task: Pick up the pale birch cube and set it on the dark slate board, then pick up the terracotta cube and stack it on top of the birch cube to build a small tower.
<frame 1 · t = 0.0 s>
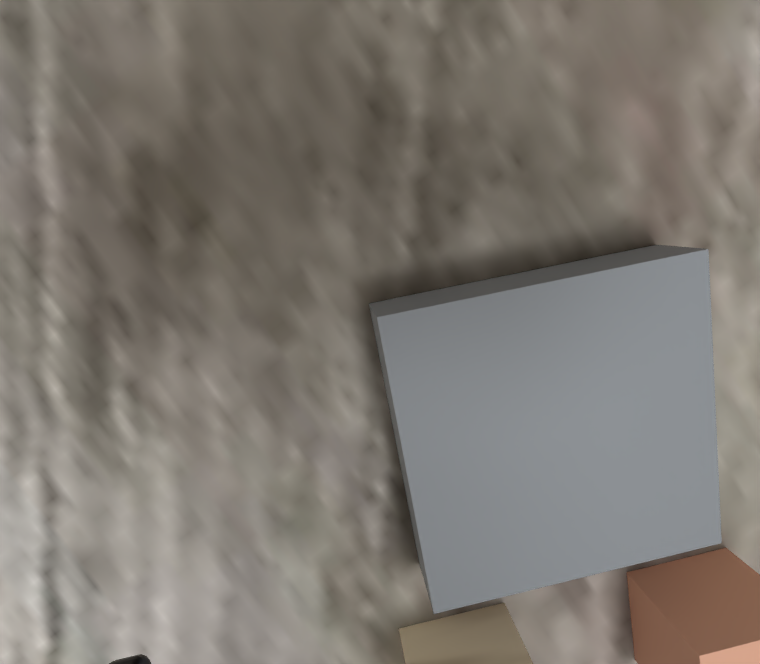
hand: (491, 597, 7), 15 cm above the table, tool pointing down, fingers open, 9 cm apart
birch cube: (459, 658, 25), on the table
slate board: (533, 411, 23), on the table
terracotta cube: (678, 603, 26), on the table
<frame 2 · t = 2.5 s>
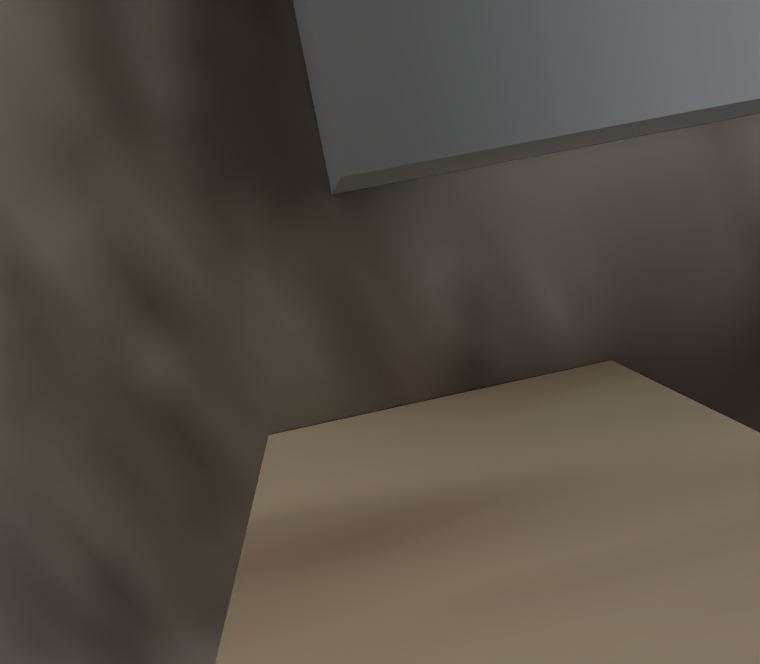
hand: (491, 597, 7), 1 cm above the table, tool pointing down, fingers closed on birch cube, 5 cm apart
birch cube: (469, 549, 8), on the table, touching gripper
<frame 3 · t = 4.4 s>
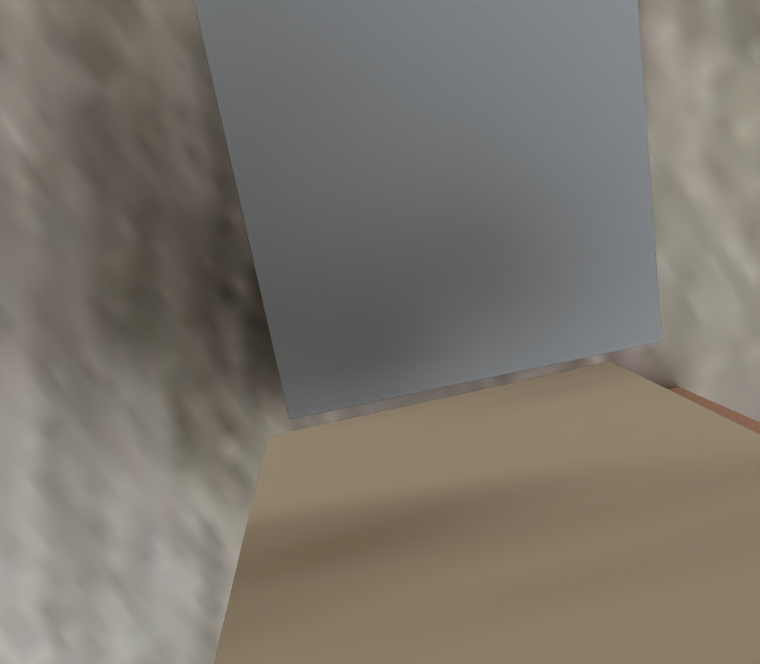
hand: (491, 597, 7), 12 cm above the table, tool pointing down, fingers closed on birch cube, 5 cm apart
birch cube: (469, 551, 8), point 11 cm above the table, touching gripper
slate board: (430, 190, 18), on the table
terracotta cube: (622, 458, 21), on the table
when the fingers open (5 cm above the table, at t = 6.5 s): birch cube stays where it is, resting on slate board.
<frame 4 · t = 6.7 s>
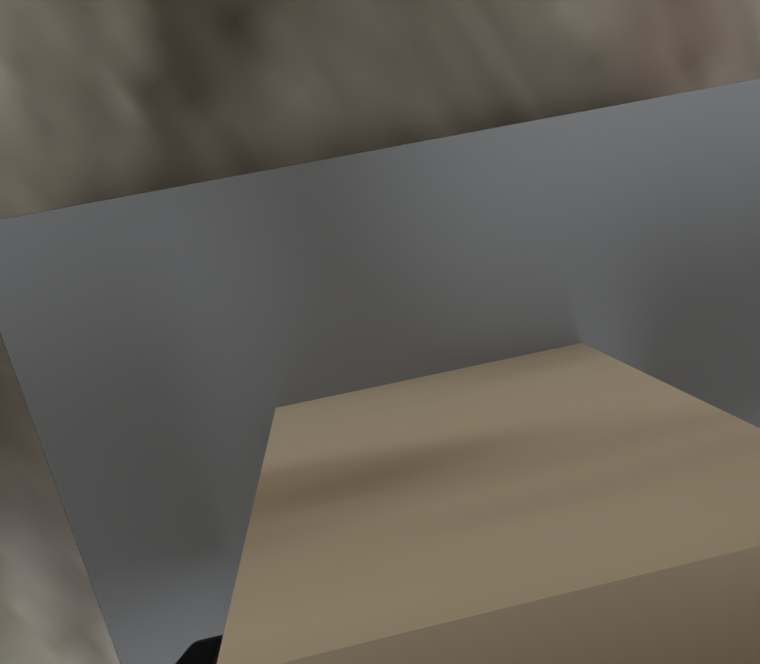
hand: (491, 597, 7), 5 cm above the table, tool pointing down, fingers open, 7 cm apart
birch cube: (455, 513, 9), point 3 cm above the table, touching slate board
slate board: (422, 441, 12), on the table
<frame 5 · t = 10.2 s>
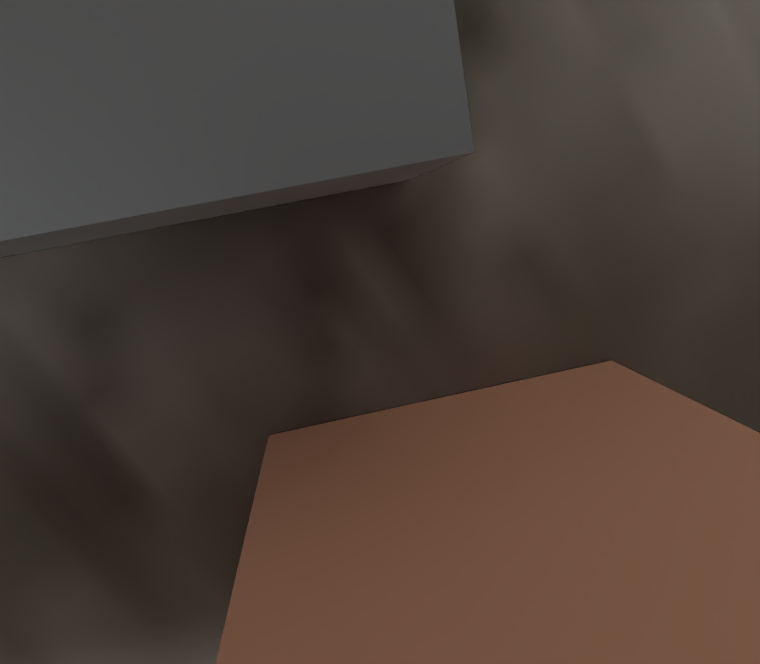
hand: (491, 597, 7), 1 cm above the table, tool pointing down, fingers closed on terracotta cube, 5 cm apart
terracotta cube: (469, 549, 8), on the table, touching gripper
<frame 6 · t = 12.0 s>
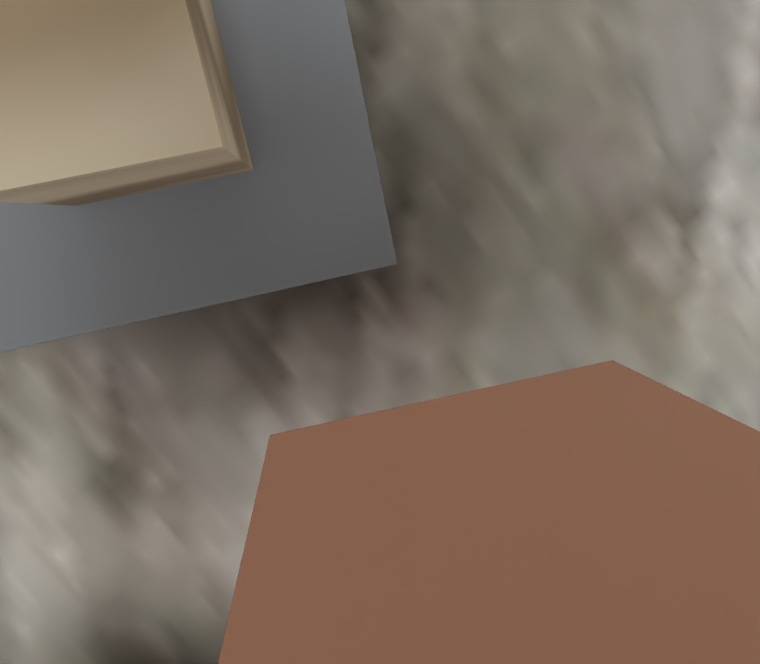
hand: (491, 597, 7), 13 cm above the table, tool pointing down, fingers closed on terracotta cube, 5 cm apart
birch cube: (138, 94, 14), point 3 cm above the table, touching slate board
slate board: (169, 115, 17), on the table
terracotta cube: (470, 549, 8), point 12 cm above the table, touching gripper
when the fingers open (10 cm above the table, at t = 13.7 s): terracotta cube stays where it is, resting on birch cube.
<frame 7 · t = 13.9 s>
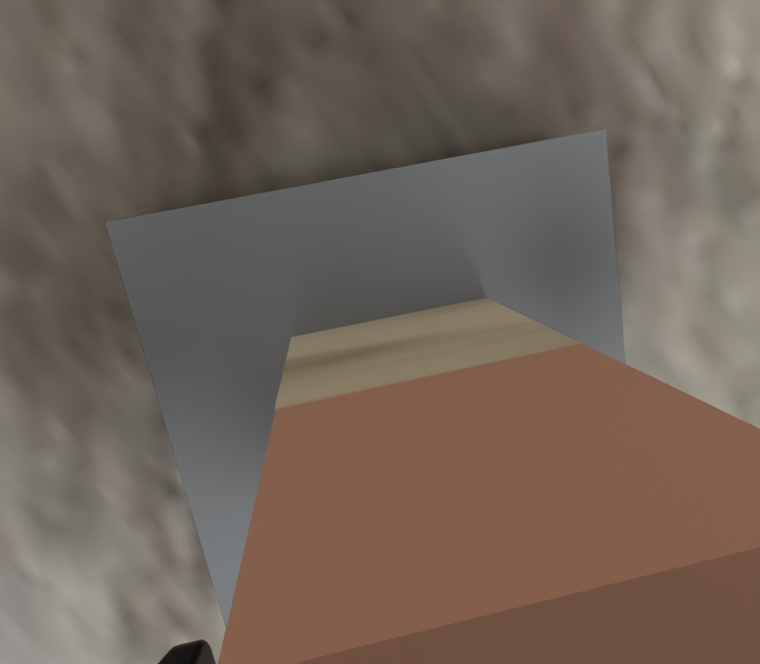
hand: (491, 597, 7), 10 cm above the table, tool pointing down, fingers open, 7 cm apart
birch cube: (407, 409, 14), point 3 cm above the table, touching slate board, terracotta cube
slate board: (391, 376, 17), on the table
terracotta cube: (455, 514, 9), point 8 cm above the table, touching birch cube
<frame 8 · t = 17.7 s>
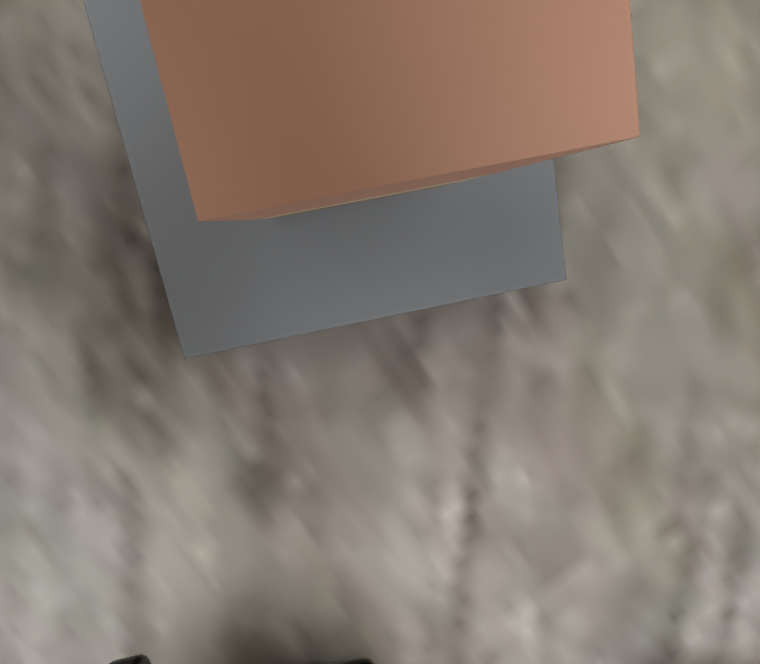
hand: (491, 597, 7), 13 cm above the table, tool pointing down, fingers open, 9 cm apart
birch cube: (340, 112, 15), point 3 cm above the table, touching slate board, terracotta cube
slate board: (337, 130, 18), on the table
terracotta cube: (352, 63, 10), point 8 cm above the table, touching birch cube
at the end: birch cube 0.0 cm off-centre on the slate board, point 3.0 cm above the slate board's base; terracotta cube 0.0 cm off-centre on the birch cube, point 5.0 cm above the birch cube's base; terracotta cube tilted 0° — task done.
